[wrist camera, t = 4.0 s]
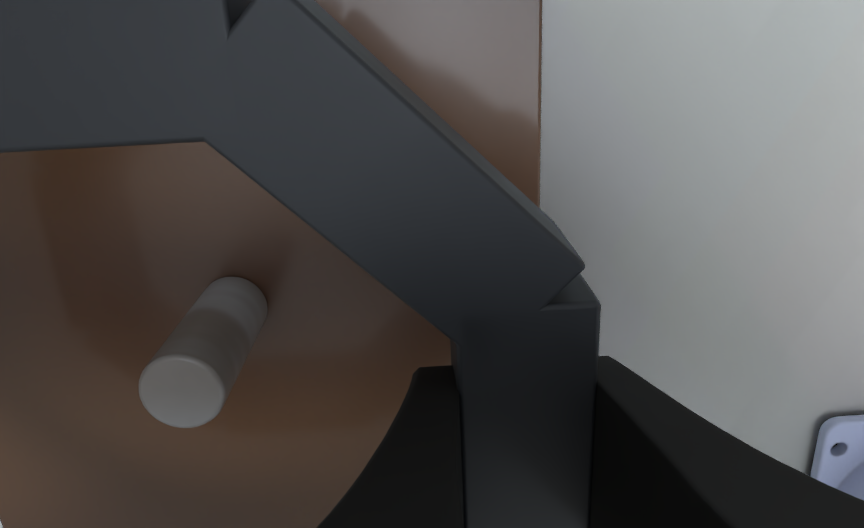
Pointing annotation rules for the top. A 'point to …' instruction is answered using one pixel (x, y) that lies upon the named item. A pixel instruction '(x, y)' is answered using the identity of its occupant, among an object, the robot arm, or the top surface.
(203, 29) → the headband ring
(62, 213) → the stand
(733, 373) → the top surface
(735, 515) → the robot arm
